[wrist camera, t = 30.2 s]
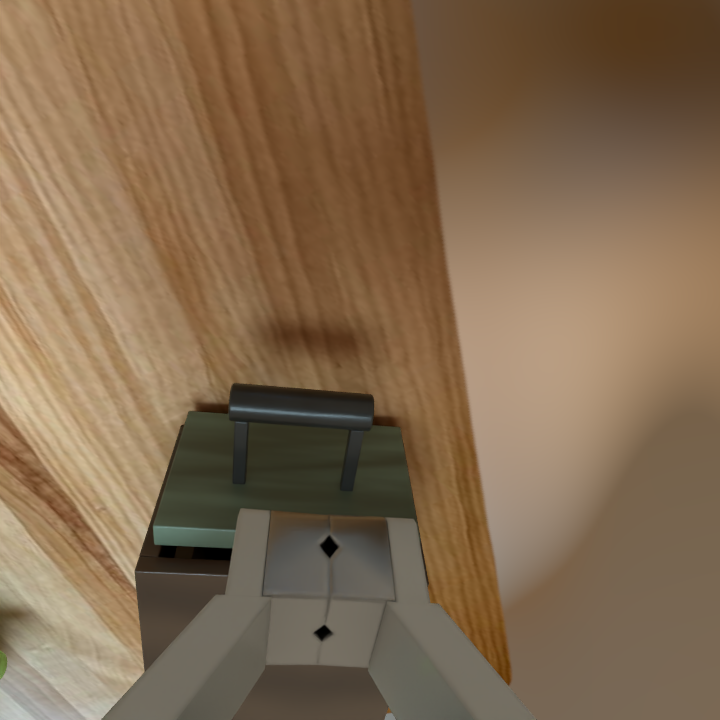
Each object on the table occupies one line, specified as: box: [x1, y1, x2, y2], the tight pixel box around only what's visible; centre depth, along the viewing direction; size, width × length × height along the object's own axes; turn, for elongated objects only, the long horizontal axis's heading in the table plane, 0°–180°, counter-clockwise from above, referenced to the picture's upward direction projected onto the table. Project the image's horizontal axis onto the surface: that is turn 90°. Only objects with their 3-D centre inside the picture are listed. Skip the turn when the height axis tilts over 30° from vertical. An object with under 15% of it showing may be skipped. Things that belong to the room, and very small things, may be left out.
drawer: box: [153, 383, 420, 561], centre depth 30 cm, size 20×11×8 cm, turn 172°
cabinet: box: [135, 425, 429, 720], centre depth 33 cm, size 16×13×10 cm
